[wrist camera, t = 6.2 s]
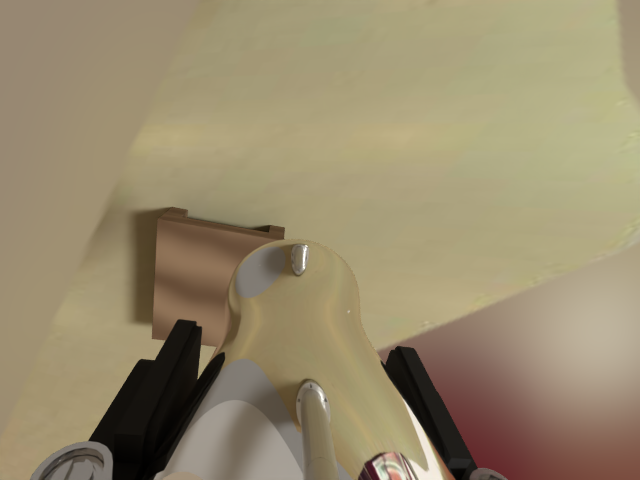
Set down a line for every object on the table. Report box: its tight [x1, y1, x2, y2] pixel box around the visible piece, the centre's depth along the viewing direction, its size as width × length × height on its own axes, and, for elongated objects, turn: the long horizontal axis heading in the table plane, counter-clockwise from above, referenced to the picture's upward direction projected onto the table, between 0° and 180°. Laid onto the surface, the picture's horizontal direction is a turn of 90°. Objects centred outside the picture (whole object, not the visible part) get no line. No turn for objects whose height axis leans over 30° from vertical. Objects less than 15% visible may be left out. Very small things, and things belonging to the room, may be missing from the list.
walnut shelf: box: [152, 207, 285, 347], centre depth 36 cm, size 14×12×4 cm
